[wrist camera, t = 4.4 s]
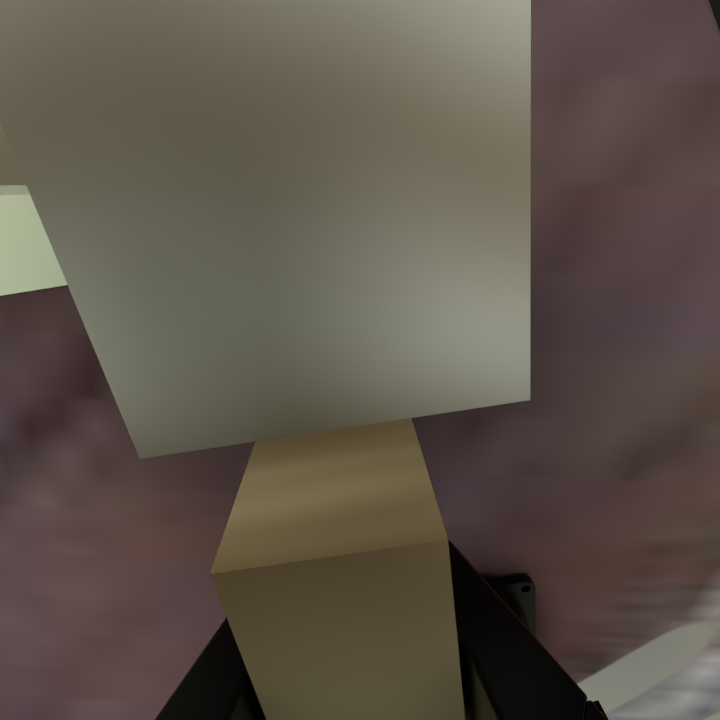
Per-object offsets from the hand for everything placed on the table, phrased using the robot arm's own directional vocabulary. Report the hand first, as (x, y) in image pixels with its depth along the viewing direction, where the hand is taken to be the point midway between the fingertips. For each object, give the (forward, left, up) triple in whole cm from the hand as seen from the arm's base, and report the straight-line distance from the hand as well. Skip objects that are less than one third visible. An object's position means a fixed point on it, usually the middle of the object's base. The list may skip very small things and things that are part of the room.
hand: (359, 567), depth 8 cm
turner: (+2, 0, -1) cm, 2 cm away
